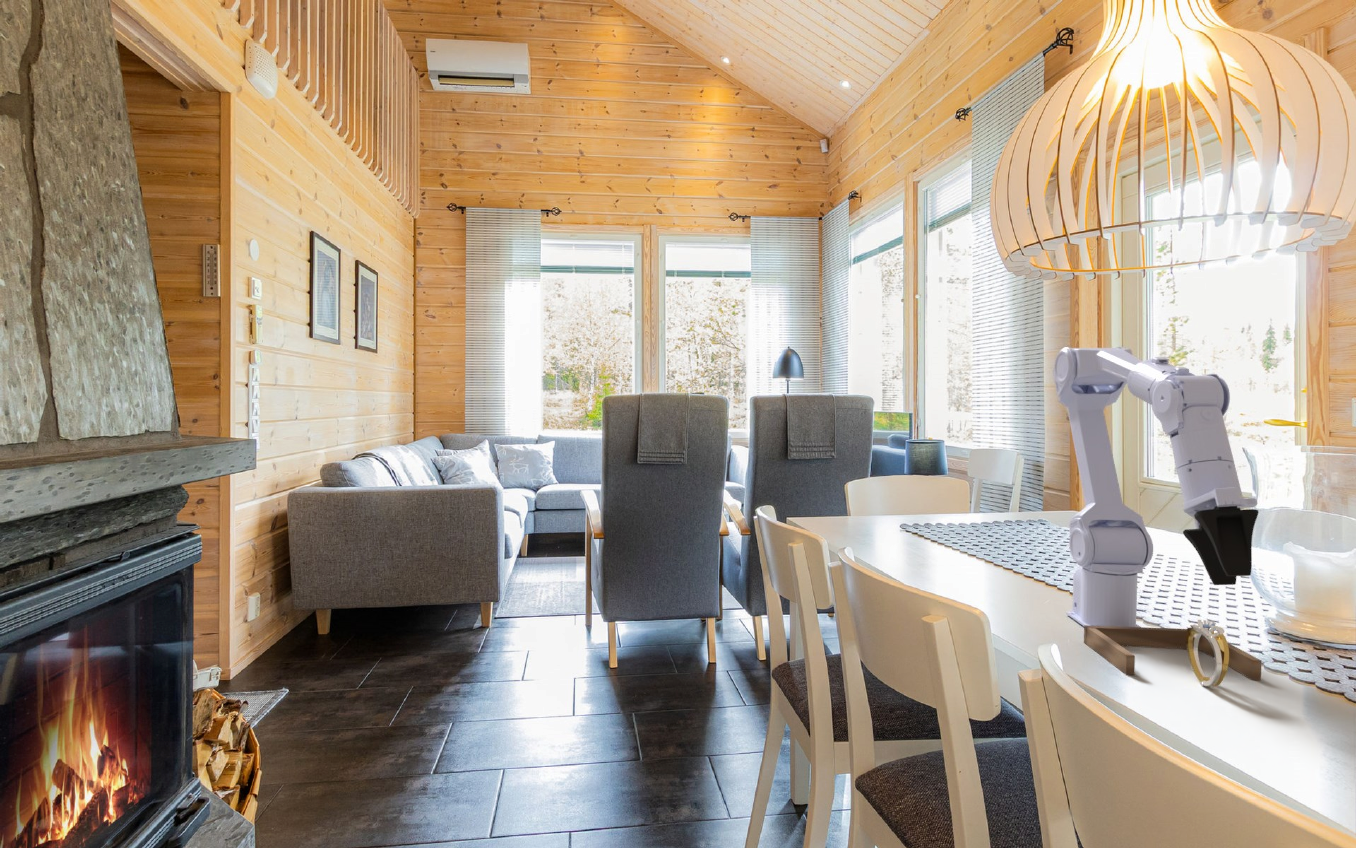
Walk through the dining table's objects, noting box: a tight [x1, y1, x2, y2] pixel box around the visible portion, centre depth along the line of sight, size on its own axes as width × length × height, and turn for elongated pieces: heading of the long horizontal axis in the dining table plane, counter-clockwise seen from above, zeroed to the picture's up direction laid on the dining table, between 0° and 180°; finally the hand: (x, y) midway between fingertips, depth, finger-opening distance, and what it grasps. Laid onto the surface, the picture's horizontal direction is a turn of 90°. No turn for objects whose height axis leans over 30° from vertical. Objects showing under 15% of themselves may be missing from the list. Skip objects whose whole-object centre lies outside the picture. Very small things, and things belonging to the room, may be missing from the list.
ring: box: [1186, 619, 1229, 688], centre depth 86 cm, size 7×3×8 cm, turn 165°
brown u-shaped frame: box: [1083, 625, 1262, 681], centre depth 94 cm, size 12×16×2 cm
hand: (1231, 580), depth 81 cm, fingers open, 7 cm apart
